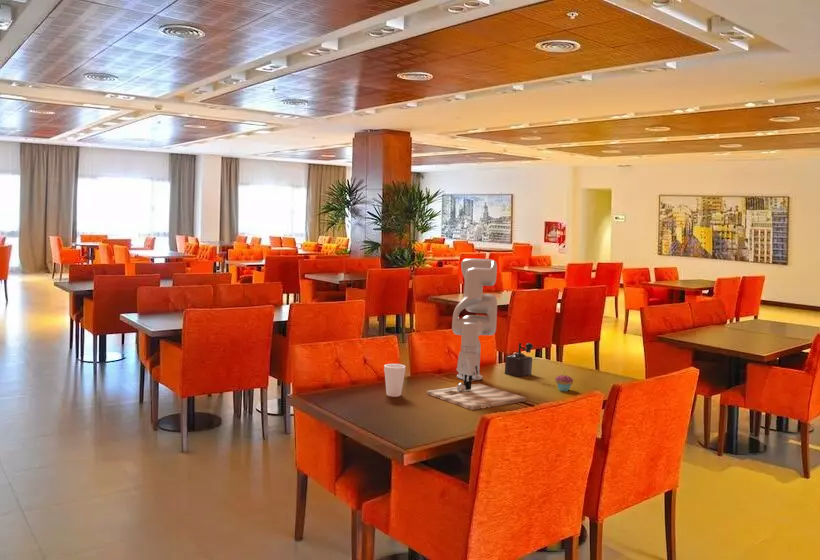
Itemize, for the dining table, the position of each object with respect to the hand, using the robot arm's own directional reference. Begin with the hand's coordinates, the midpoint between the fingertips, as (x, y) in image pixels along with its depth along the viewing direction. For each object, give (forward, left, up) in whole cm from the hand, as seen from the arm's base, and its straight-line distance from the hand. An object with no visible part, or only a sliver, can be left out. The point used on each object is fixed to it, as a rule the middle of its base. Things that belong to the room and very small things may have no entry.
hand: (467, 389), depth 320 cm
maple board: (+7, -1, -2) cm, 7 cm away
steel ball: (0, -4, +1) cm, 4 cm away
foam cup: (-14, -31, -2) cm, 34 cm away
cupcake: (+16, +47, -2) cm, 50 cm away
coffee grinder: (-17, +53, -2) cm, 56 cm away
